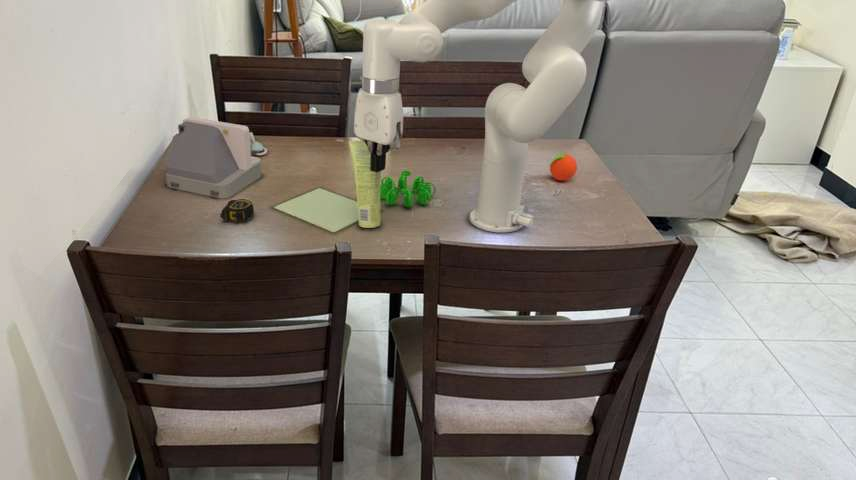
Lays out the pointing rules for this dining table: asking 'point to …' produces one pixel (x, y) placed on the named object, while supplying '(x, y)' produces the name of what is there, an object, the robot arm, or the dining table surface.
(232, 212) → the tape measure
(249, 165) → the instant camera
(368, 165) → the tube
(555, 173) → the clementine
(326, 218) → the mat
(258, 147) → the pacifier
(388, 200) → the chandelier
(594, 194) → the dining table surface
